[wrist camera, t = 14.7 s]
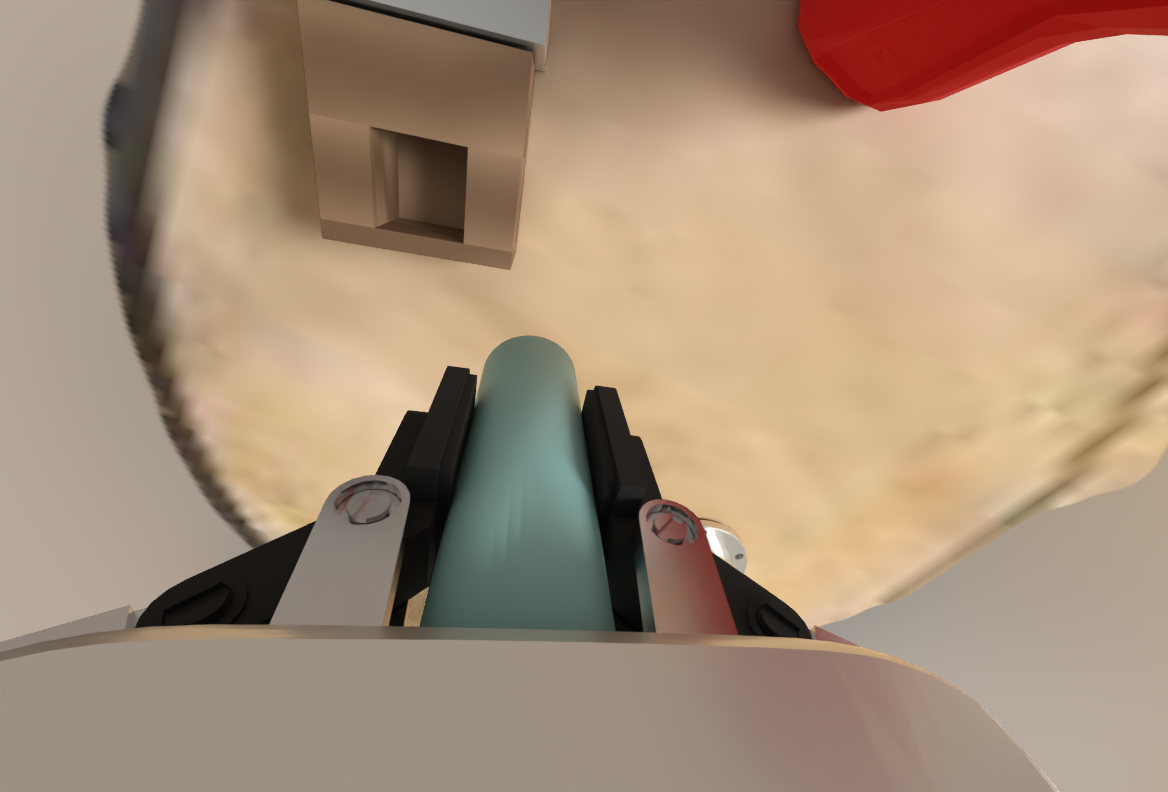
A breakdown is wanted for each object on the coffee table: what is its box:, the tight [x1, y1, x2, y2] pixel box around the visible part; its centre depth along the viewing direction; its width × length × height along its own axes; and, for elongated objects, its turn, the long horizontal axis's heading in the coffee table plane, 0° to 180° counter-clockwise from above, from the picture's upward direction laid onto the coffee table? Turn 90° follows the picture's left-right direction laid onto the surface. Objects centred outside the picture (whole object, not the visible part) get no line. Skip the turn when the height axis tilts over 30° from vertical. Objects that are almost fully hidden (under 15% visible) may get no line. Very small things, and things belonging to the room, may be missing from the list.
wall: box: [329, 0, 551, 72], centre depth 18 cm, size 2×10×6 cm, turn 79°
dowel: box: [420, 336, 615, 631], centre depth 9 cm, size 3×3×10 cm
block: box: [297, 0, 535, 270], centre depth 21 cm, size 9×9×5 cm
